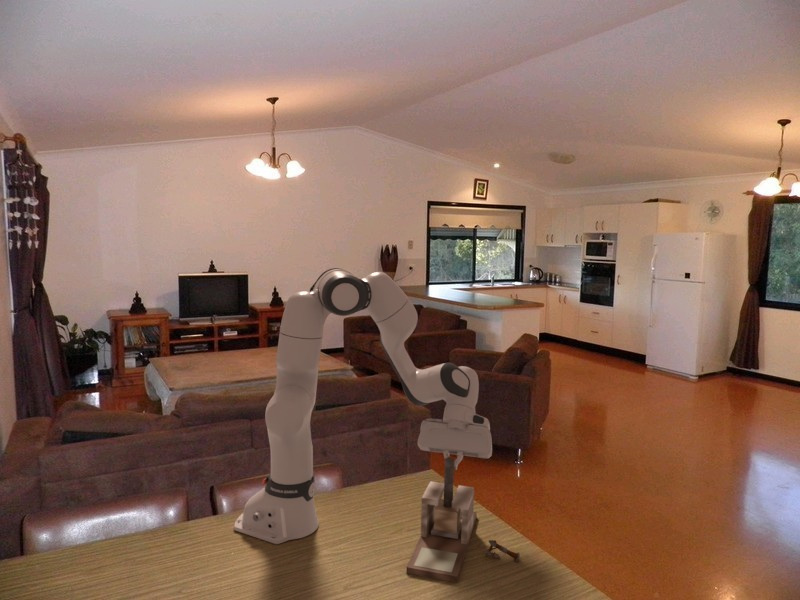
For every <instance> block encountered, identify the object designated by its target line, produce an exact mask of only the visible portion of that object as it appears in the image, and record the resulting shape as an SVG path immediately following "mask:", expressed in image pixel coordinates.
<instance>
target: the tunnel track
mask: <svg viewBox="0 0 800 600" xmlns="http://www.w3.org/2000/svg"><path fill="white" fill-rule="evenodd" d="M443 496H444V482H437V481H431V480H430V482H429V483H428V485H427V487H426V489H425V490H424V492H423V494H422V497H421V509H420V511H421V513H420V515H421V516H420V517H421V518H420V538H419V539H418V542H417V544H416V546H415V548H414V550H413V553H412V555H411V557H410V559H409V561H408V564H407V565H406V572H405V573H406V574H408V575H409V574H410V575H414V576H415V575H416V576H421V577H424V578H431V579H436V580H440V581H441V580H442V581H447V582H452V583H456V584H457V583H458V580H459V578H460V574H461V571H462V567H463V564H464V560H465V557H466V554H467V552H468V551H467V550H468V547H469V543H470V541H471V540H470V539H471V536H472V534H473V531H474V527H475V523H476V521H477V517H478V516H477V513H478V512H475V511H474V502H475V500H474V499H475V487H473V486H467V485H461V484H460V485H459V484H458V486H457V489H456V491H455V493H454V495H453V500H452V508H456V509H461V520H462V528H461V531H460V534H459V537H458V539H455V538H449V537H443V536H437V535H431V530H432V528H433V526H434V510H435V507H436V506H438V504H439V502H440V499H442V497H443Z"/></svg>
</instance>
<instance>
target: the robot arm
mask: <svg viewBox="0 0 800 600" xmlns="http://www.w3.org/2000/svg"><path fill="white" fill-rule="evenodd" d="M285 303H286V304H285V306H284V311H283V314H282V317H281V323H280V329H279V334H278V343H277V351H276V357H275V358H276V359H275V365H276V377H275V378H276V381H275V389H274V392H273V395H272V397H271V398H270V400H269V402H268V403H267V405H266V408H265V415H264V416H265V417H264V418H265V425H266V429H267V436H268V442H269V449H270V472H269V473H268V474H267V475H266V476H265V478H264V479H263V480H262V481H261V483H262V484H261V486H264V485H265V486H264V487H263V488H261V489H260V490H259V491H257V492H256V493H255V494H254V495H252V496H251V497H250V498H249V499H248V500H247V502H246V503H245V505H244V509H243V512H242V513H241V514H240V515H239V516H238V517H237V519H235V522H234V526H233V530H234V531H236V532H239V533H242V534H245V535H247V536H251V537H254V538H257V539H259V540H263V541H266V542H269V543H272V544H273V545H279V544H282V543H284V542H287V541H291V540H298V539H302V538H305V537H308V536H310V535H312V534H313V533H314V532H315V531H317V530H318V528H319V525H320V521H319V519H318V516H317V512H316V506H315V505H316V504H315V497H314V496H315V489H316V486H315V473H314V468H313V467H314V454H313V453H314V450H313V449H314V446H313V443H312V432H311V417H312V412H313V410H314V406H315V404H316V398H317V387H318V378H319V367H320V366H319V365H320V364H319V363H320V357H321V351H322V345H323V344H322V343H323V336H324V335H323V334H324V326H325V323H326V321H327V318H328V317H329V316H330V314H332V315H335V316H340V317H346V316H351V315H353V314H356V313H357V312H361V311H363V310H365V311H366V312H367V313H368V315H369V316H370V317H371V319H372V320H373V322H374V323H375V324H376V326H377V327H378V330H379V333H380V334H379V343H380V345H381V348H382V350H383V352H384V355H385V356H386V358H387V360H388V362H389V364H390V365H391V367H392V369H393V371H394V372H395V374H396V376H397V377H398V380H399V382H400V383H401V385H402V389H403V392H404V395H405V397H406V398H407V399H408V401H409V402H410V403H411V404H413V405H414V406H417V407H423V406H425V405H426V406H427V405H429V404H431V403H434V402H438V401H439V402H440V401H442V400H443V401H444V402H445V403H446V404H445V407H444V412H443V416H442V418H433V417H432V418H431V417H427V418H426V419H424V420H422V421H421V423H420V426H419V427H420V428H419V429H420V433H419V435H418V439H417V446H418V448H419V449H420V451H424V452H433V453H441V454H443V457H444V459H445V458H450V457H451V456H450V455H455V456H456V457H457V458H455V459H454V471H457V470H458V465H459V464H460V463H461V461H463V459H464V457H465V456H466V457H472V458H480V459H490V457H492V456H493V455H492V454H493V442H492V441H493V440H492V439H493V438H492V433H491V426H490V425H491V424H490V420H489V419H488V418H487V417H484V416H482V415H480V414H477V413H476V405H477V403H478V399H479V390H480V387H479V386H480V384H479V376H478V373H477V372H476V371H475V369H473V368H471V367H469V366H465V365H464V366H463V365H461V366H457V365H456V364H454V363H452V362H445V363H440V364H436V365H434V366H430V367H427V368H424V369H423V368H422V369H421V368H417V367H416V366H415V364H414V363H413V360H412V359H411V357H410V355H409V353H408V351H407V350H406V348H405V342H406V341H407V339H409V337H410V336H411V335H412V334H413V332H414V331H415V330H416V327H417V324H418V321H419V319H418V318H419V317H418V315H419V314H418V312H417V310H416V307H415V305H414V304H413V303H412V301H411V300H410V299H409V297H408V296H407V295H406V293H405V292H404V291H403V289H402V288H401V287H400V286H399V285H398V284H397V282H396V281H395V280H393V279H392V277H390V276H389V275H388V274H387V273H385V272H383V271H375V272H371V273H370V274H368V275H366V276H365V277H362V278H359V277H357V276H355V275H354V274H353V273H351V272H349V271H348V270H345V269H342V268H338V267H333V268H328V269H326V270H325V271H324V272H322V273H321V274H320V275H319V277H317V279H316V280H315V282H314V283H313V284H312V286H311V287H310V288H309V291H306V290H304V291H303V290H302V291H297V292H294V293H292V294H291V295H290V296H289V297H288V298H287V300H286V302H285Z"/></svg>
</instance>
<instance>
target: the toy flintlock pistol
mask: <svg viewBox="0 0 800 600" xmlns="http://www.w3.org/2000/svg"><path fill="white" fill-rule="evenodd" d="M497 542H498V541H496V540H493V539H489V540H488V543H489V545H490V546H489V548H488V549H486V552H485V554H484V555H485V556H486V557H488V556H489V555H491V556H492V558H495V559H497V560H498V559H501V556H500V555H499V553H496V552H495V551H494V552H493V550H496V549H498V550H499V551H500V552H501V553H503V554H504V555H508V556H509V557H511V558H512V559H513V560H514V561H515V563H517V562H518V560H519V559H520V552H514V551H511V550H509V549H508V548H507V547H505V546H503V545H502V544H501V545H500V544H498V543H497Z"/></svg>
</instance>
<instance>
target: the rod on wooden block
mask: <svg viewBox="0 0 800 600" xmlns="http://www.w3.org/2000/svg"><path fill="white" fill-rule="evenodd" d="M454 461H455V459H454V458H452V457H448V458H445V457H444V476H443V478H444V479H443V483H444V493H443V499H442V498H441V499H440V502H439V504H438V506H436V505H435V506H436V507H435V510H434V526H433V528H432V530H431V535H437V536H443V537H449V538H455V539H458V537H459V534H460V531H461V528H462V520H461V510H462V509H456V508H452V500H453V498H454V482H455V481H454V478H455V477H454V475H455V474H454V473H455V470H454Z"/></svg>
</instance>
